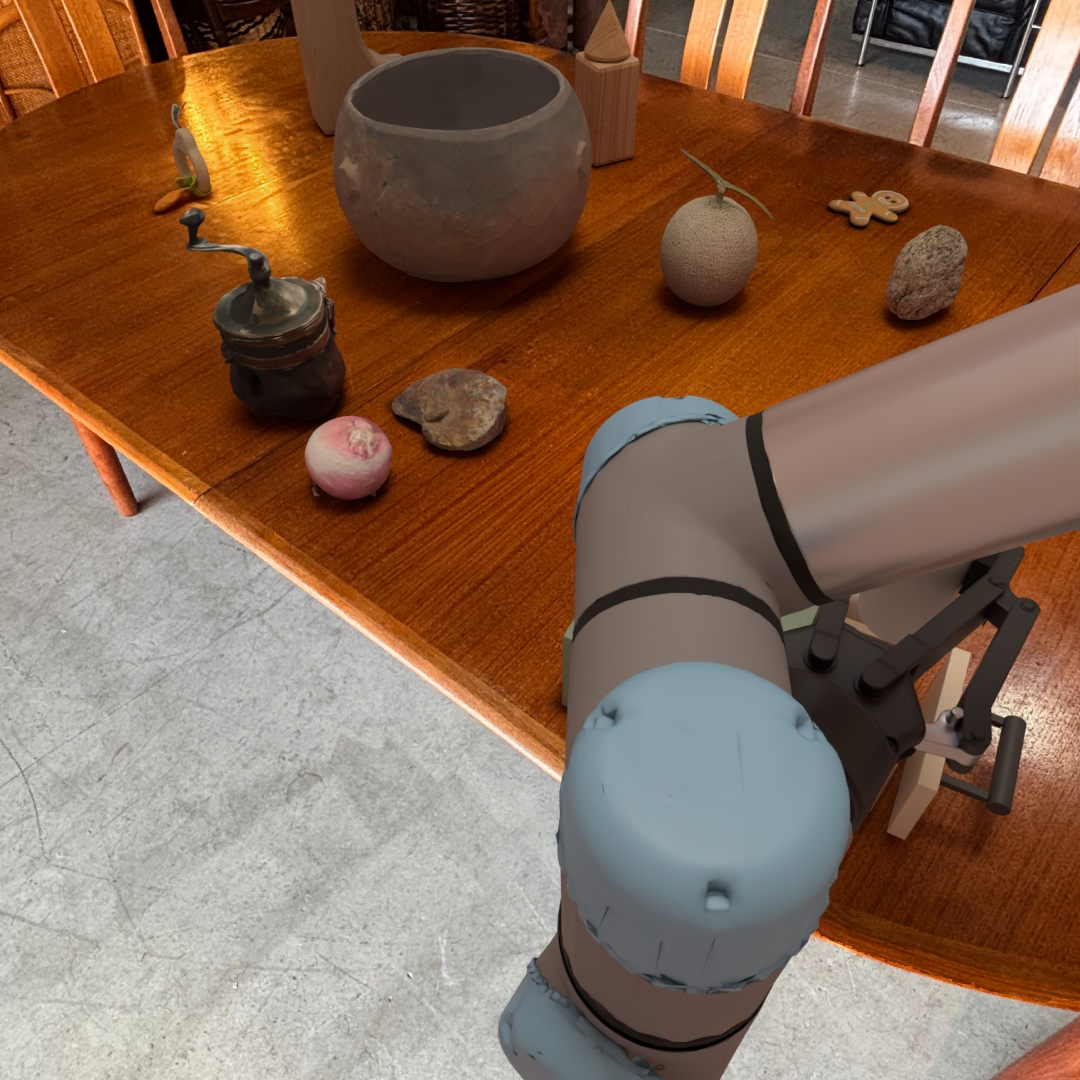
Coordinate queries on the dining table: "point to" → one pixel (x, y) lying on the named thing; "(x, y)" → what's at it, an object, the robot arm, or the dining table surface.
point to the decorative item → (608, 90)
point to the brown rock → (455, 408)
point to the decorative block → (331, 55)
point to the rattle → (186, 165)
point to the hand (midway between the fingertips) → (965, 489)
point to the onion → (348, 458)
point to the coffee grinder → (276, 336)
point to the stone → (927, 273)
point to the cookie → (871, 207)
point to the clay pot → (462, 162)
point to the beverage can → (910, 602)
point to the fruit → (710, 246)
